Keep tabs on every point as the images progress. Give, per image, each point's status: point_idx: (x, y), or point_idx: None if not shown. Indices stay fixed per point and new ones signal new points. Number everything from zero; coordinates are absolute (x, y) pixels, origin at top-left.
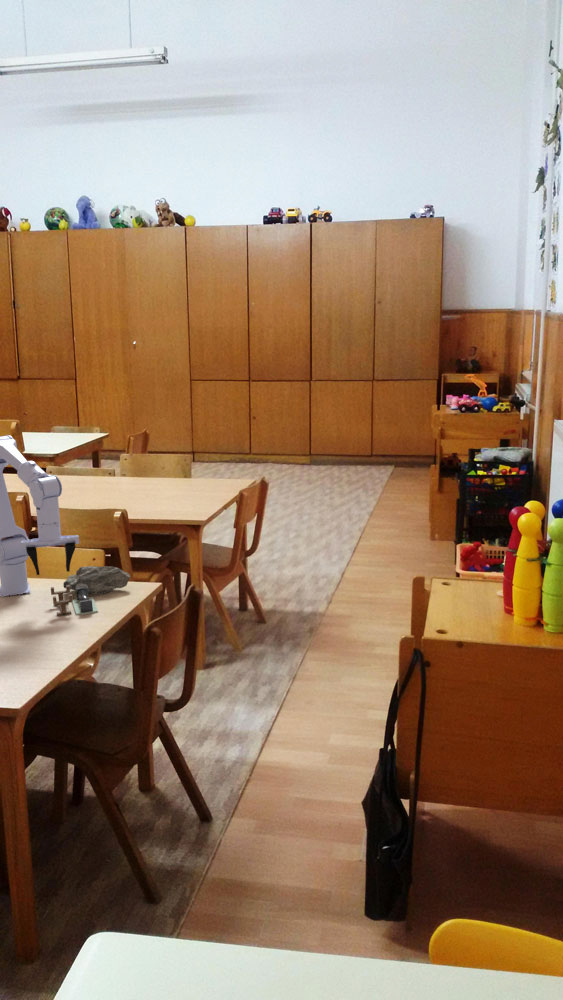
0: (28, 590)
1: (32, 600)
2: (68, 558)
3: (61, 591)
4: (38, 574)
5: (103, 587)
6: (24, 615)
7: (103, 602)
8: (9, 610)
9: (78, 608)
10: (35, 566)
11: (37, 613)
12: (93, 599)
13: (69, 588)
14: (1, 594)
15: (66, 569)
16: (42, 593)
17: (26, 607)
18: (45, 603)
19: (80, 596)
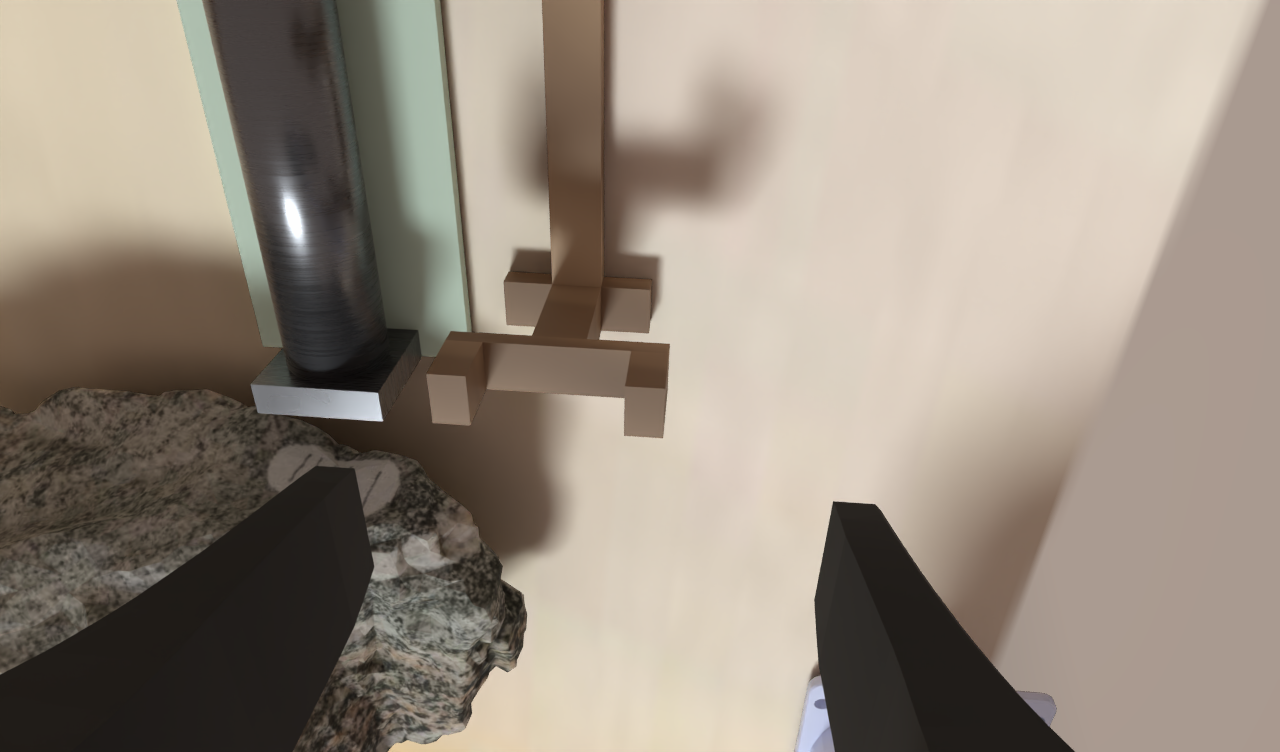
0: (818, 710)
1: (827, 523)
2: (150, 630)
3: (544, 375)
4: (852, 508)
5: (122, 426)
6: (1021, 117)
7: (140, 173)
8: (1107, 355)
9: (391, 25)
10: (940, 619)
11: (868, 121)
12: (247, 272)
13: (436, 357)
14: (1043, 715)
15: (359, 541)
16: (714, 638)
17: (926, 368)
18: (729, 400)
19: (326, 186)
